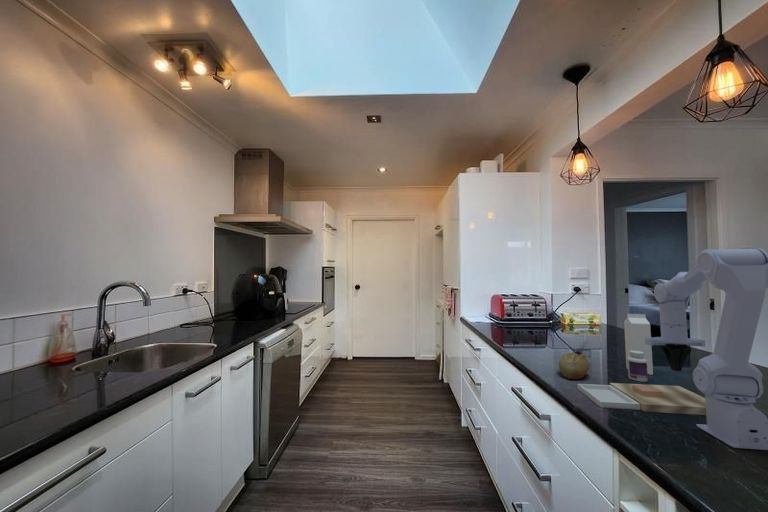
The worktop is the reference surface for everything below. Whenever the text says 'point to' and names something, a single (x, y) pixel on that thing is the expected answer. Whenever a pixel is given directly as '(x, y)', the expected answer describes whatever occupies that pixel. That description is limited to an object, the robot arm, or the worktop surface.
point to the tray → (608, 396)
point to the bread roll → (573, 365)
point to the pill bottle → (637, 366)
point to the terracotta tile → (647, 391)
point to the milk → (638, 338)
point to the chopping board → (666, 399)
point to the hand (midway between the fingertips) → (676, 370)
